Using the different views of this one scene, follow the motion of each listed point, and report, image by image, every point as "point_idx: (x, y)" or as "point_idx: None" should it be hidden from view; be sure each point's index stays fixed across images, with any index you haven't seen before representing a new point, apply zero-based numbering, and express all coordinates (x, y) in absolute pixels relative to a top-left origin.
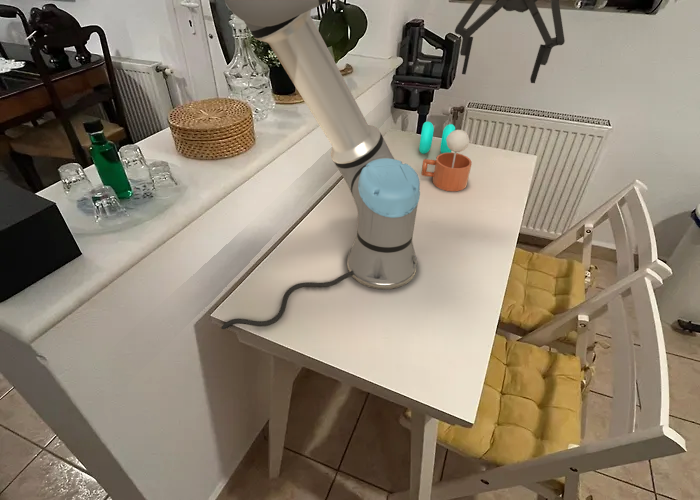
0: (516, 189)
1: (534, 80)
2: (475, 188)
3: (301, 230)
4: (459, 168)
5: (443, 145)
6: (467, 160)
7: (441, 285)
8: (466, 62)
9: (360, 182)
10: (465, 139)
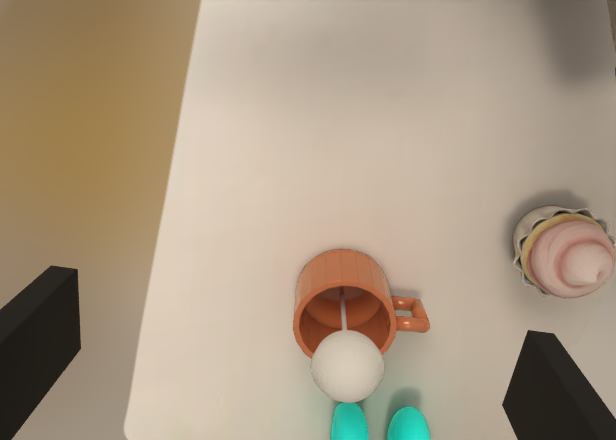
0: (167, 286)
1: (48, 276)
2: (274, 273)
3: None
4: (331, 285)
5: (362, 420)
6: (303, 338)
7: None
8: (574, 386)
9: None
10: (328, 356)
